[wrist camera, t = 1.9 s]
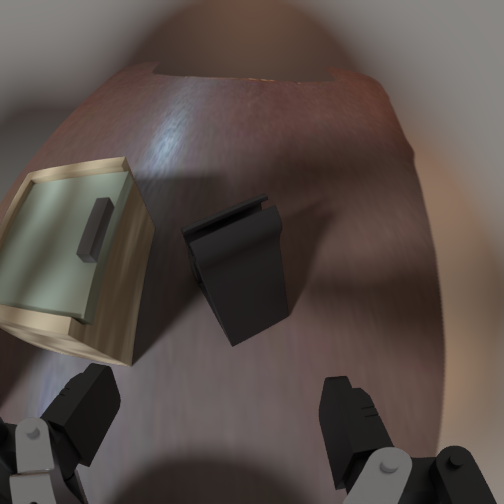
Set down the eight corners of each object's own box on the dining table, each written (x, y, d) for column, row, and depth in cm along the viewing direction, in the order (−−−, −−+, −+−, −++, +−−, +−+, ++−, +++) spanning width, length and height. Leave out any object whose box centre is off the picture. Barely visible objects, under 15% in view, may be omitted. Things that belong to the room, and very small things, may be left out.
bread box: (36, 346, 24) (-35, 307, 14) (69, 230, 32) (26, 169, 22) (137, 367, 24) (69, 333, 14) (159, 228, 32) (129, 151, 22)
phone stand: (192, 271, 29) (163, 191, 19) (243, 247, 31) (239, 161, 20) (232, 347, 25) (218, 299, 15) (288, 317, 27) (311, 252, 16)
